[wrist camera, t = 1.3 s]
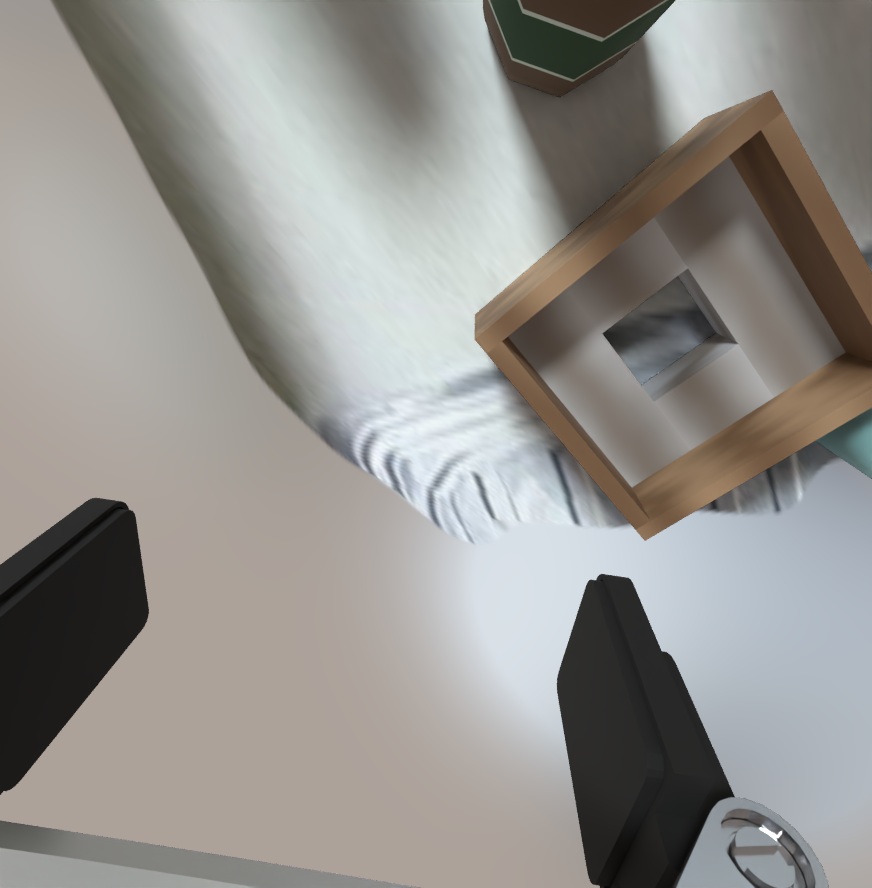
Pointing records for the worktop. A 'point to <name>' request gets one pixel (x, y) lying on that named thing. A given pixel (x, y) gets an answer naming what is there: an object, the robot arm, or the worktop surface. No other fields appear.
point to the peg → (853, 442)
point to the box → (723, 304)
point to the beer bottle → (566, 37)
